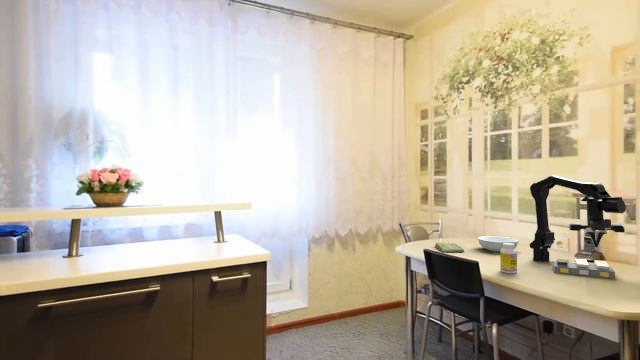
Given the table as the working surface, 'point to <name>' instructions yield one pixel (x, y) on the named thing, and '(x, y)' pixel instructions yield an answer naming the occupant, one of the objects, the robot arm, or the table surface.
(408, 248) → the table surface
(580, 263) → the rocker
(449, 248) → the washcloth
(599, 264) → the block
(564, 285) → the table surface
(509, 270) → the supplement bottle
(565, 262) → the rocker
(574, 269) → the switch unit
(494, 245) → the serving bowl
